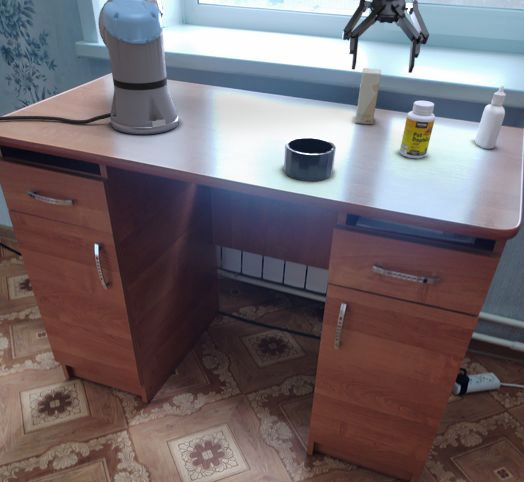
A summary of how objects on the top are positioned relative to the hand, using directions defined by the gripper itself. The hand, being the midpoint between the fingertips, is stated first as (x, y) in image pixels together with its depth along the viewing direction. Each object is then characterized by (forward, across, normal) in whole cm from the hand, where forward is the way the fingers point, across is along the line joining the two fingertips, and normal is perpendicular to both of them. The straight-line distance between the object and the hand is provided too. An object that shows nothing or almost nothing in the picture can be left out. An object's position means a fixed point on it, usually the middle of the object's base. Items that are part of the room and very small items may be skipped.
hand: (382, 67), depth 120 cm
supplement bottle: (+26, -7, +11) cm, 29 cm away
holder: (+36, +15, +20) cm, 44 cm away
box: (+11, +3, -4) cm, 12 cm away
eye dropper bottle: (+20, -24, +4) cm, 31 cm away
